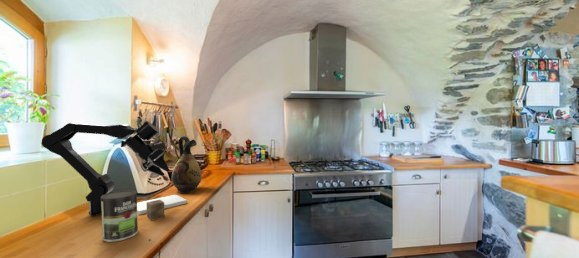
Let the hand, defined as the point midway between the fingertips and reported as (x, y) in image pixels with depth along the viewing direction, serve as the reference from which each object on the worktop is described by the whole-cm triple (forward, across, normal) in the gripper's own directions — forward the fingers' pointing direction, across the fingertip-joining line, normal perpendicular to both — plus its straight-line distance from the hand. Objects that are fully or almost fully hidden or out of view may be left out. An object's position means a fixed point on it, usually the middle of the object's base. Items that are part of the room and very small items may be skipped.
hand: (166, 173), depth 116 cm
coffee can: (+6, -13, +29) cm, 32 cm away
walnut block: (+10, -3, +16) cm, 19 cm away
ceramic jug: (+14, +26, -9) cm, 31 cm away
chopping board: (+9, +10, +9) cm, 16 cm away
